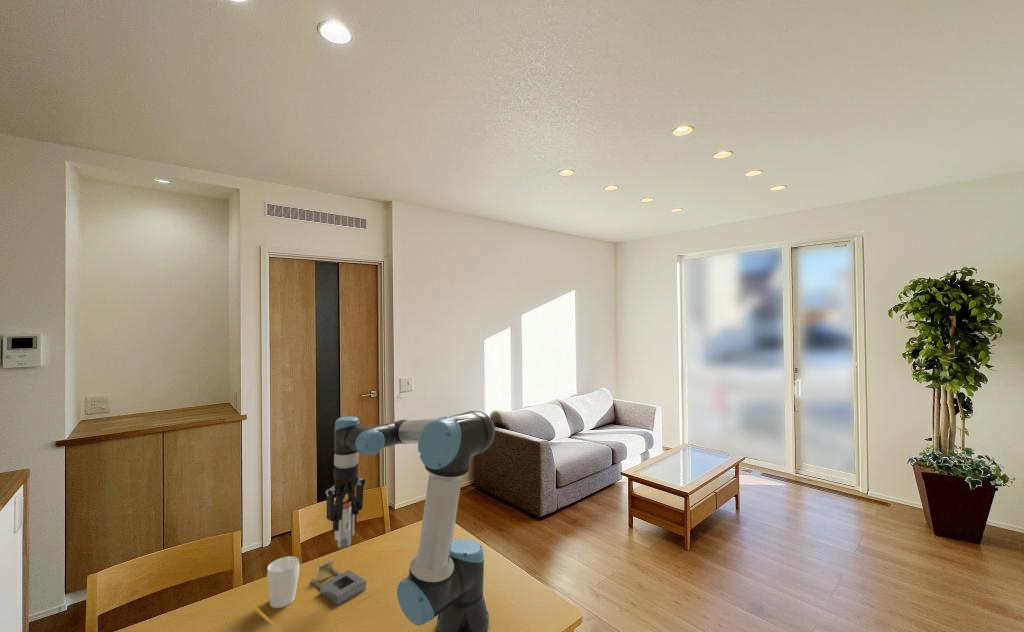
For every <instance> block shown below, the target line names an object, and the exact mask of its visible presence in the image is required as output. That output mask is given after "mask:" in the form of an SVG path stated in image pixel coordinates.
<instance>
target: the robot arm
mask: <svg viewBox="0 0 1024 632" xmlns="http://www.w3.org/2000/svg"><path fill="white" fill-rule="evenodd" d="M360 425H361V423H360V419H359V418H358V416H342V417H338V418H337V419H336V420H335V422H334V431H333V432H334V438H333V439H334V440H333V441H334V445H333V447H334V448H333V450H334V452H333V454H334V455H333V465H334V467H333V484H332V486H331V487H330V488H326V489H325V490H324V494H325V496H326V520H328V521H330V522H332V530H333V531H334V539H335V540H336V541H337V542H338V541H341V535H342V520H341V519H340V514H341V509H342V504H343V500H344V499H346V495H347V499H350V500H352V515H351V537H352V536H355V527H356V525H355V524H356V523H357V521H358V520H357V519H358V518H357V517H358V514H360V511H361V510H362V509H363V507H364V506H363V505H364V502H363V501H364V487H365V483H366V479H364V478H361V477H358V476H359V461H360V460H359V458H360V457H359V455H360V454H362V455H367V456H375V455H377V454H378V453H380V451H382V450H383V449H384V448H385V449H386V448H389V447H391V446H395V445H408V444H409V445H411V444H413V445H414V444H415V445H417V449H418V453H419V454H420V455H419V458H420V460H421V462H422V464H423V465H424V470H426V472H427V473H428V480H427V481H428V482H427V488H426V493H425V500H424V506H423V507H424V509H423V516H422V520H421V521H422V522H421V529H420V536H419V541H418V542H419V543H418V548H417V554H415V556H413V557H412V559H411V561H410V563H409V570H408V575H407V577H404V578H402V579H401V581H399V583H398V585H397V588H396V597H397V601H398V605H399V606H400V609H401V611H402V613H403V615H404V616H405V618H407V620H408V621H409V622H410V623H411V624H414V625H415V626H424V625H425V624H427V623H429V622H430V621H433V620H434V618H435V617H437V618H436V629H437V632H485V631H486V630H487V631H488V629H489V626H488V625H490V615H489V610H488V608H487V604H486V600H485V597H484V577H485V576H484V575H485V574H484V570H485V569H484V565H485V557H484V555H485V554H484V548H483V546H482V544H480V543H478V542H477V541H475V540H473V539H467V538H456V539H454V531H455V528H456V527H455V525H456V520H457V519H456V518H457V514H458V513H457V512H458V505H459V500H460V494H461V493H460V492H461V487H462V479H463V478H464V476H466V475H467V474H468V473H469V471H470V466H471V460H472V457H474V456H477V455H479V454H481V453H483V452H485V451H486V450H487V449H489V448H490V446H491V445H492V444H493V441H494V440H495V435H496V428H495V424H494V422H493V420H492V418H491V417H490V416H489V415H488V414H487V413H485V412H483V411H481V410H469V411H465V412H462V413H458V414H454V415H450V416H448V415H447V416H441V417H438V418H429V419H428V418H426V419H425V418H424V419H412V420H411V419H408V418H406V419H400V420H399V419H398V420H397V421H393V422H392V421H391V422H388V423H382V424H378V425H373V426H369V427H365V426H360ZM359 453H360V454H359ZM487 628H488V629H487ZM487 631H486V632H487Z"/></svg>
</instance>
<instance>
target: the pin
mask: <svg viewBox="0 0 1024 632" xmlns="http://www.w3.org/2000/svg"><path fill="white" fill-rule="evenodd" d="M351 515H352V500H350V499H348V498H344V499H343V504H342V509H341V514H340V519H341V520H342V535H341V541H337V547H338V548H340V549H343V548H344V549H345V548H348V547H350V546H351V544H352V535H351Z"/></svg>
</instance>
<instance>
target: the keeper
mask: <svg viewBox="0 0 1024 632" xmlns="http://www.w3.org/2000/svg"><path fill="white" fill-rule="evenodd" d="M333 569H334V561H333V559H327V560H325V561H324V562H322V563H320V564H319V563H318V564H317V565H316V571H315V572H316V577H315V580H316V581H318V582H319V583H320V582H322V581H324V580H326V579H328V578H331V577H332V576H334V574H333Z"/></svg>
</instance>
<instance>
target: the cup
mask: <svg viewBox="0 0 1024 632" xmlns="http://www.w3.org/2000/svg"><path fill="white" fill-rule="evenodd" d="M300 569H301V568H300V559H299V558H298V557H296V556H294V555H293V556H292V555H291V556H283V557H280V558H277V559H274V560H273V561H272V562H270V563H269V564H268V566H267V574H266V582H267V589H268V590H267V591H268V598H269V606H270V607H272V608H273V609H280V608H284V607H287V606H289V605H290V604H292V603H293V602H294V600H295V598H296V593H297V587H298V582H299V576H300Z"/></svg>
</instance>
